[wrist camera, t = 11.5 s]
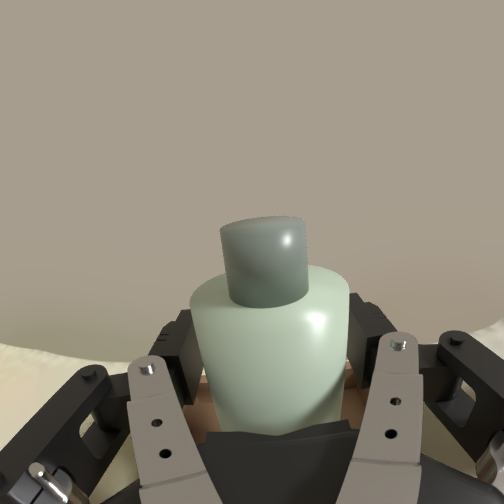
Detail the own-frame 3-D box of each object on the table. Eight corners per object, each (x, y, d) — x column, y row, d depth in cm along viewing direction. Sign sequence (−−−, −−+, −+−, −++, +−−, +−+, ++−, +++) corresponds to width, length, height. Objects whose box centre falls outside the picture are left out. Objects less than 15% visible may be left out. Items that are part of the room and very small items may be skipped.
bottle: (236, 515, 10) (153, 258, 6) (240, 446, 14) (195, 218, 11) (337, 506, 10) (375, 236, 6) (323, 438, 14) (326, 205, 11)
